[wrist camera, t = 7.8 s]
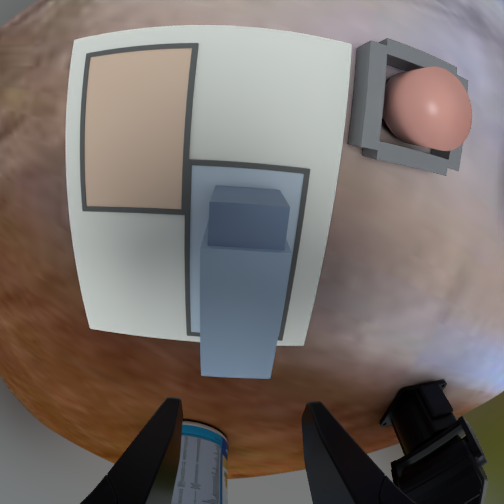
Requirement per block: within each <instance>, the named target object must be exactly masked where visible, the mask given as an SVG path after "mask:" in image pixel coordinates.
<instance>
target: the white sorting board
mask: <svg viewBox="0 0 504 504" xmlns="http://www.w3.org/2000/svg"><path fill="white" fill-rule="evenodd" d="M351 49H352V44H349V43H345V42H341V41H337V40H332V39H328V38H323V37H318V36H313V35H308V34H302V33H296V32H289V31H282V30H274V29H266V28H256V27H243V26H224V25H182V26H163V27H150V28H140V29H132V30H124V31H117V32H111V33H105V34H100V35H94V36H89V37H85V38H80V39H76V40H74V45H73V51H72V58H71V65H70V74H69V83H68V95H67V110H66V179H67V195H68V207H69V218H70V227H71V235H72V242H73V249H74V255H75V261H76V267H77V273H78V278H79V283H80V288H81V293H82V298H83V302H84V306H85V311H86V315H87V319H88V323H89V326H90V329H96V330H102V331H108V332H115V333H122V334H129V335H137V336H145V337H153V338H163V339H172V340H183V341H194V342H200V247H201V243H202V240H203V237H204V233H205V230H206V227H207V223H208V220H209V202H210V199H211V196H212V194H213V191H214V188H215V186H216V185H217V186H233V187H247V188H260V189H272V190H280V191H281V193H282V194H283V196H284V198H285V199H286V201H287V203H288V204H289V206H290V213H289V221H288V228H287V236H286V240H287V242H288V245H289V247H290V250H291V252H292V257H291V264H290V270H289V276H288V282H287V288H286V294H285V300H284V306H283V312H282V318H281V323H280V329H279V335H278V340H277V345H276V346H304V342H305V338H306V334H307V330H308V326H309V322H310V318H311V314H312V309H313V305H314V301H315V296H316V292H317V287H318V283H319V278H320V273H321V268H322V263H323V259H324V254H325V248H326V243H327V238H328V233H329V227H330V222H331V216H332V210H333V204H334V198H335V192H336V186H337V179H338V172H339V165H340V158H341V151H342V143H343V135H344V127H345V118H346V109H347V99H348V89H349V77H350V64H351Z"/></svg>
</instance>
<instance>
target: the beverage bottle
mask: <svg viewBox="0 0 504 504" xmlns="http://www.w3.org/2000/svg"><path fill="white" fill-rule="evenodd" d="M227 456H228V442H227V439H226V438H225V436H224V435H223V434H222V433H220V432H219V431H218V430H216V429H214V428H212V427H210V426H207V425H204V424H200V423H196V422H190V421H183V424H182V437H181V452H180V461H179V467H178V472H177V476H176V481H175V486H174V491H173V496H172V502H171V504H228V501H227Z"/></svg>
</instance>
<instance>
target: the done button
mask: <svg viewBox="0 0 504 504" xmlns="http://www.w3.org/2000/svg"><path fill="white" fill-rule="evenodd" d="M383 118H384V120H385V122H386V124H387V126H388V128H389V129H390V131H391V132H392V133H393V134H394V135H395V136H396V137H397V138H399V139H400V140H402V141H404V142H406V143H409V144H413V145H418V146H423V147H428V148H432V149H437V150H441V151H451V150H454V149H456V148H458V147H459V146H460V145H461V144H462V143H463V142H464V141H465V140H466V138H467V136H468V134H469V132H470V128H471V123H472V109H471V103H470V99H469V97H468V94H467V92H466V90H465V88H464V86H463V85H462V83H461V82H460V81H459V79H458V78H457V77H456V76H455V75H454V74H452V73H451V72H449V71H448V70H446V69H444V68H441V67H435V66H432V67H426V68H421V69H416V70H411V71H406V72H402V73H398V74H396V75H394V76H392V77H391V78H390V79H389V80H388V81H387V83H386V84H385V93H384V104H383Z"/></svg>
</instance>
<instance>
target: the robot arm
mask: <svg viewBox="0 0 504 504" xmlns="http://www.w3.org/2000/svg"><path fill="white" fill-rule="evenodd" d="M446 384H447V383H446V382H445V380H443V381H439V382H434V383H429V384H424V385H419V386H414V387H408V388H404V389H402V390H400V392H399V393H398V395H397V397H396V398H395V400H394V401H393V403H392V405H391V406H390V408H389V409H388V411H387V412H386V414H385V415H384V417H383V418H382V420H381V421H380V426H381V427H384V426H389V425H392V426H393V428H394V430H395V433H396V435H397V438H398V440H399V443H400V445H401V448H402V450H403V453H404V455H405V456H403V457H402V458H400V459H398V460H395V461H393V462H391V468H392V469H391V472H392V478H393V482H392V481H391V480H390V479H389V478H388V477H387V476H385V475H384V473H383V472H382V470H381V469H380V468H378V466H377V465H376V464H375V463H374V462H373V461H372V459H371V458H370V457H369V456H368V455H367V454H366V453H365V452H364V451H363V449H362V448H361V447H360V446H359V445H358V444H357V443H356V442H355V440H354V439H353V438H352V437H351V436H350V435H349V434H348V432H347V431H346V430H345V429H344V428H343V427H342V426H341V424H340V423H339V422H338V421H337V420H336V419H335V417H334V416H333V415H332V414H331V413H330V412H329V410H328V409H327V408H326V407H325V406H324V405H323V403H322V402H320V401H314V402H308V403H307V405H306V407H305V410H304V413H303V415H302V433H303V447H304V460H305V467H306V472H307V477H308V481H309V486H310V491H311V496H312V501H313V504H484V500H485V495H486V489H487V484H488V478H487V475H486V473H485V471H484V469H483V467H482V466H483V465H485V464H486V463H487V459H486V457H485V455H484V452H483V450H482V448H481V446H480V443H479V441H478V439H477V437H476V435H475V433H474V432H473V430H472V428H471V426H470V425H469V423H468V422H467V421H466V420H465V419H464V417H463V416H461V417H460V418H459V419H458V420H456V418H455V416H454V415H453V413H452V412H453V408H452V407H451V405H450V403H449V401H448V400H447V398H446V396H445V395H444V393H443V389H444V388H445V386H446ZM182 424H183V411H182V403H181V399H180V398H173V397H168V398H166V399H165V401H164V402H163V403H162V405H161V406H160V407H159V408H158V410H157V411H156V412H155V414H154V415H153V416H152V417H151V419H150V420H149V421H148V423H147V424H146V425H145V426H144V428H143V429H142V430H141V432H140V433H139V434H138V435H137V437H136V438H135V439H134V441H133V442H132V443H131V444H130V446H129V447H128V448H127V449H126V451H125V452H124V453H123V454H122V456H121V457H120V458H119V459H118V461H117V462H116V463H115V465H114V466H113V467H112V468H111V470H110V471H109V472H108V475H106V476H105V477H104V478H103V479H102V481H101V482H100V483H99V484H98V485H97V487H96V488H95V489H94V490H93V491H92V492H91V493H90V494H89V495H88V496H87V497H86V498H85V499H84V500H83V501H82V502H81V503H80V504H171V502H172V496H173V491H174V486H175V481H176V476H177V472H178V467H179V461H180V452H181V437H182ZM464 434H466V436H465V437H464V438H463V439H461V437H462V436H463V435H464Z"/></svg>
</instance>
